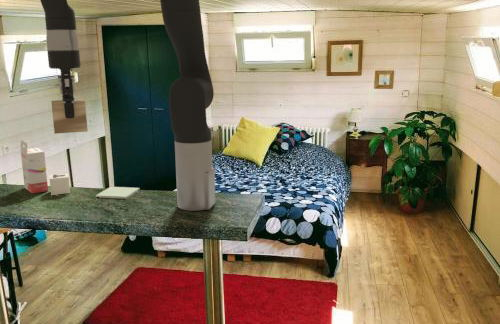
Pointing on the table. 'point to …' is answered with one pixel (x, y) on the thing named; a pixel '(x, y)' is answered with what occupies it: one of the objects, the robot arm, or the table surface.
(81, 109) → the birch block
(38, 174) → the ink cartridge box
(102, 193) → the sage mat
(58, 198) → the table surface
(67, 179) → the marked cube
